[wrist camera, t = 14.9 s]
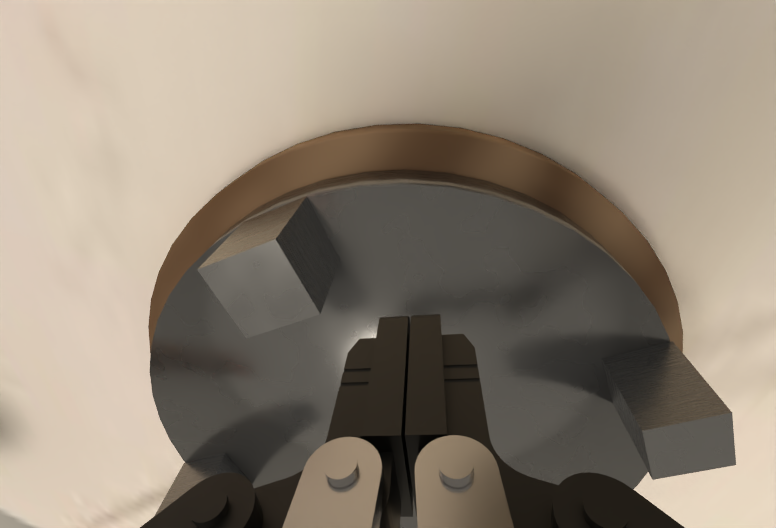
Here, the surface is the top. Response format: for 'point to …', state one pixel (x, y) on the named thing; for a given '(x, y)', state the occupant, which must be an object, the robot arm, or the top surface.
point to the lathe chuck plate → (458, 316)
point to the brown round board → (423, 153)
